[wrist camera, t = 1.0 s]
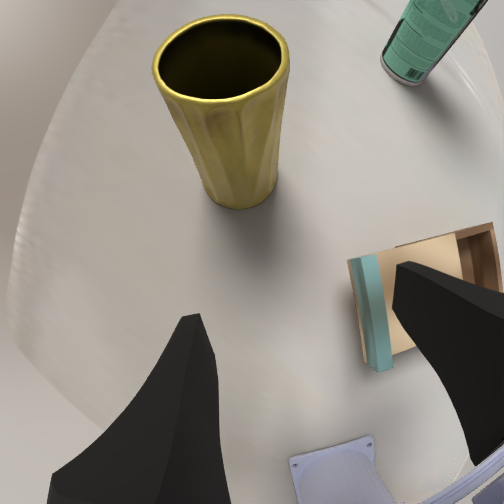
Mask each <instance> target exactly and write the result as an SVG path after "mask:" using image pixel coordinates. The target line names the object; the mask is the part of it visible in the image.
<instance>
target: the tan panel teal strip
mask: <svg viewBox="0 0 504 504" xmlns="http://www.w3.org/2000/svg"><path fill="white" fill-rule="evenodd" d="M406 261H412V262H416V263H419V264H422V265H425V266H428V267H430V268H433V269H436V270H438V271H441V272H443V273H446V274H448V275H451V276H454V277H456V278H459V279H461V280H463V277H462V270H461V264H460V258H459V252H458V247H457V242H456V237H455V233H451V234H447V235H444V236H440V237H436V238H432V239H429V240H425V241H421V242H417V243H413V244H409V245H405V246H401V247H397V248H393V249H389V250H385V251H381V252H377V253H373V254H369V255H365V256H361V257H357V258H353V259H348V260H347V263H348V268H349V273H350V278H351V283H352V288H353V294H354V299H355V305H356V310H357V316H358V323H359V329H360V335H361V342H362V349H363V357H364V362H365V363H367V364H368V365H369V366H370V367H372V368H373V369H374V370H375V371H377V372H378V373H380V372H383V371H386V370H389V369H391V368H393V361H392V355H394V354H397V353H400V352H402V351H405V350H408V349H410V348H413V347H415V346H416V345H415V343H414V342H413V341H412V339H411V338H410V337H409V335H408V334H407V333H406V331H405V330H404V329H403V327H402V325H401V324H400V322H399V320H398V319H397V317H396V315H395V313H394V311H393V310H392V302H393V294H394V285H395V274H396V264H400V263H403V262H406Z"/></svg>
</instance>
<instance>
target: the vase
mask: <svg viewBox="0 0 504 504" xmlns="http://www.w3.org/2000/svg"><path fill="white" fill-rule="evenodd" d="M289 71H290V59H289V50H288V46H287V43H286V41H285V39H284V38H283V37H282V35H281V34H280V33H279V32H278V31H276V30H275V29H274V28H273V27H271V26H270V25H268V24H267V23H265V22H263V21H260V20H258V19H255V18H251V17H248V16H243V15H236V14H221V15H213V16H208V17H203V18H200V19H196V20H194V21H192V22H190V23H188V24H186V25H184V26H182V27H180V28H179V29H177V30H176V31H174V32H173V33H172V34H171V35H170V36H168V37H167V38H166V39H165V40H164V42H163V43H162V44H161V45H160V47H159V48H158V49H157V51H156V53H155V55H154V58H153V62H152V74H153V77H154V80H155V82H156V84H157V87H158V89H159V91H160V93H161V95H162V97H163V98H164V100H165V102H166V104H167V107H168V109H169V111H170V113H171V115H172V118H173V120H174V122H175V124H176V125H177V127H178V129H179V131H180V133H181V135H182V137H183V139H184V141H185V143H186V145H187V147H188V149H189V151H190V153H191V155H192V157H193V160H194V163H195V165H196V168H197V170H198V172H199V175H200V177H201V179H202V182H203V186H204V188H205V190H206V192H207V194H208V195H209V196H210V197H211V198H212V199H213V200H214V201H215V202H217V203H218V204H220V205H222V206H225V207H229V208H233V209H245V208H250V207H253V206H255V205H257V204H259V203H261V202H262V201H263V200H265V199H266V198H267V197H268V196H269V195H270V194H271V192H272V190H273V188H274V186H275V184H276V181H277V178H278V171H277V168H278V157H279V145H280V133H281V124H282V116H283V110H284V103H285V96H286V89H287V82H288V76H289Z"/></svg>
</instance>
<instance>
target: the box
mask: <svg viewBox="0 0 504 504" xmlns="http://www.w3.org/2000/svg"><path fill="white" fill-rule="evenodd" d="M451 233H455V237H456V242H457V247H458V252H459V258H460V264H461V270H462V277H463V280H464V281H467V282H469V283H472V284H475V285H478V286H481V287H484V288H487V289H490V290H494V291H498V292H502V293H503V287H502V277H501V269H500V261H499V254H498V248H497V243H496V237H495V232H494V227H493V222H490V223H486V224H482V225H478V226H474V227H469V228H465V229H462V230H458V231H454V232H451ZM451 233H447V234H451ZM447 234H443V235H439V236H435V237H432V238H436V237H440V236H444V235H447ZM432 238H428V239H424V240H420V241H416V242H412V243H408V244H404V245H400V246H396V247H395V248H397V247H401V246H405V245H409V244H413V243H417V242H421V241H425V240H429V239H432Z"/></svg>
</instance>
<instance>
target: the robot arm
mask: <svg viewBox="0 0 504 504" xmlns="http://www.w3.org/2000/svg"><path fill="white" fill-rule="evenodd" d="M392 310H393V311H394V313H395V315H396V317H397V319H398V320H399V322H400V324H401V325H402V327H403V329H404V330H405V331H406V333H407V334H408V335H409V337H410V338H411V339H412V341H413V342H414V343H415V345H416V346H417V347H418V348H419V350H420V351H421V352H422V354H423V355H424V356H425V358H426V359H427V360H428V362H429V363H430V364H431V366H432V367H433V368H434V370H435V371H436V373H437V374H438V376H439V378H440V380H441V381H442V383H443V385H444V387H445V389H446V391H447V393H448V395H449V397H450V399H451V401H452V403H453V406H454V408H455V410H456V412H457V415H458V418H459V420H460V423H461V426H462V428H463V431H464V435H465V438H466V442H467V445H468V449H469V454H470V458H471V460H472V462H473V464H474V465H475V466H477V465H478V464H480V463H481V462H482V461H483V460H485V459H486V458H487V457H489V456H490V455H491V454H492V453H494V452H495V451H496V450H497V449H498V448H500V447H501V446H502V445H503V444H504V293H502V292H498V291H494V290H490V289H487V288H484V287H481V286H478V285H475V284H472V283H469V282H467V281H464V280H461V279H459V278H456V277H454V276H451V275H448V274H446V273H443V272H441V271H438V270H436V269H433V268H430V267H428V266H425V265H422V264H419V263H416V262H412V261H406V262H403V263H400V264H396V274H395V285H394V294H393V302H392ZM368 443H370V444H369V445H367V444H368ZM293 464H297V465H293ZM289 465H290V469H291V474H292V478H293V482H294V487H295V491H296V495H297V499H298V504H397V503H396V501H395V500H394V498H393V497H392V495H391V493H390V492H389V490H388V489H387V487H386V485H385V484H384V482H383V481H382V479H381V477H380V476H379V474H378V473H377V471H376V469H375V452H374V438H373V436H371V435H368V436H365V437H362V438H359V439H356V440H353V441H350V442H347V443H343V444H340V445H337V446H333V447H330V448H326V449H322V450H318V451H314V452H310V453H306V454H301V455H297V456H293V457H291V458H290V459H289ZM502 467H504V446H502V447H501V448H500V449H499V450H498V451H497V452H496V453H494V454H493V455H492V456H490V457H489V458H488V459H487V460H485V461H484V462H483V463H482V464H480V465H479V466H478V467H476V468H475V469H474V470H472V471H471V472H469V473H468V474H467V475H465V476H464V477H462V478H461V479H459V480H458V481H456V482H455V483H453V484H452V485H450V486H448V487H447V488H445V489H444V490H442V491H440V492H439V493H437V494H435V495H434V496H432V497H430V498H428V499H427V500H425V501H423V502H421V503H419V504H455V503H456V502H458V501H459V500H461V499H462V498H464V497H465V496H466V495H468V494H469V493H471V492H472V491H474V490H475V489H476V488H477V487H479V486H480V485H482V484H483V483H484V482H485V481H487V480H488V479H489V478H490V477H492V476H493V475H494V474H495V473H496V472H498V471H499V470H500V469H501V468H502ZM472 502H473V504H504V473H503V474H502V475H500V476H499V477H498V478H496V479H495V480H494V481H493V482H491V483H490V484H489V485H487V486H486V487H485V488H483V489H482V490H481V491H480V492H479V493H477V494H476V495H475V496H474V497H473V498H472ZM47 504H231V501H230V496H229V492H228V487H227V481H226V476H225V471H224V465H223V459H222V452H221V446H220V432H219V389H218V375H217V367H216V360H215V354H214V352H213V349H212V346H211V344H210V341H209V338H208V336H207V333H206V330H205V327H204V325H203V322H202V319H201V316H200V313H198V314H193V315H188V316H182V317H181V319H180V321H179V323H178V324H177V326H176V328H175V330H174V332H173V334H172V336H171V338H170V340H169V342H168V344H167V346H166V347H165V349H164V351H163V353H162V355H161V356H160V358H159V360H158V362H157V364H156V365H155V367H154V368H153V370H152V372H151V373H150V375H149V376H148V378H147V380H146V381H145V383H144V384H143V386H142V387H141V389H140V390H139V392H138V393H137V394H136V396H135V397H134V398H133V400H132V401H131V402H130V404H129V405H128V406H127V407H126V409H125V410H124V411H123V412H122V413H121V414H120V415H119V417H118V418H117V419H116V420H115V421H114V422H113V423H112V424H111V425H110V426H109V428H108V429H107V430H106V431H105V432H104V433H103V434H102V435H101V436H100V437H99V438H98V439H97V440H95V441H94V442H93V443H92V444H91V445H90V446H89V447H88V448H86V449H85V450H84V451H83V452H82V453H81V454H79V455H78V456H77V457H75V458H74V459H73V460H72V461H70V462H69V463H67V464H66V465H65V466H63V467H62V468H60V469H59V470H58V471H56V472H55V473H53V474H52V478H51V482H50V488H49V494H48V499H47ZM399 504H405V503H404V502H401V503H399Z"/></svg>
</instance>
